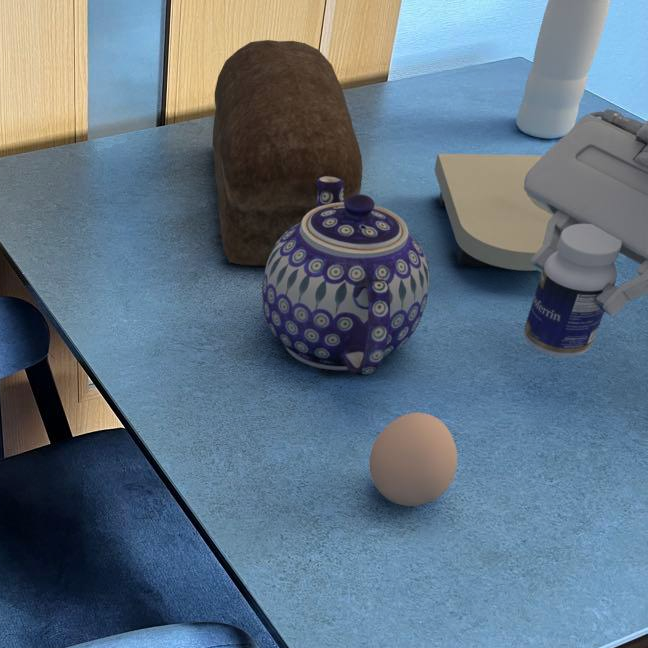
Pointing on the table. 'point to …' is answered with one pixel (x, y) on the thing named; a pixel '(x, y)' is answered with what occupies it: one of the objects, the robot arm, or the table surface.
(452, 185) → the beige rounded board
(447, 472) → the egg
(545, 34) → the water bottle
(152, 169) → the table surface
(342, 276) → the teapot
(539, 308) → the pill bottle
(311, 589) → the table surface
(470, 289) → the table surface
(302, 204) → the bread
